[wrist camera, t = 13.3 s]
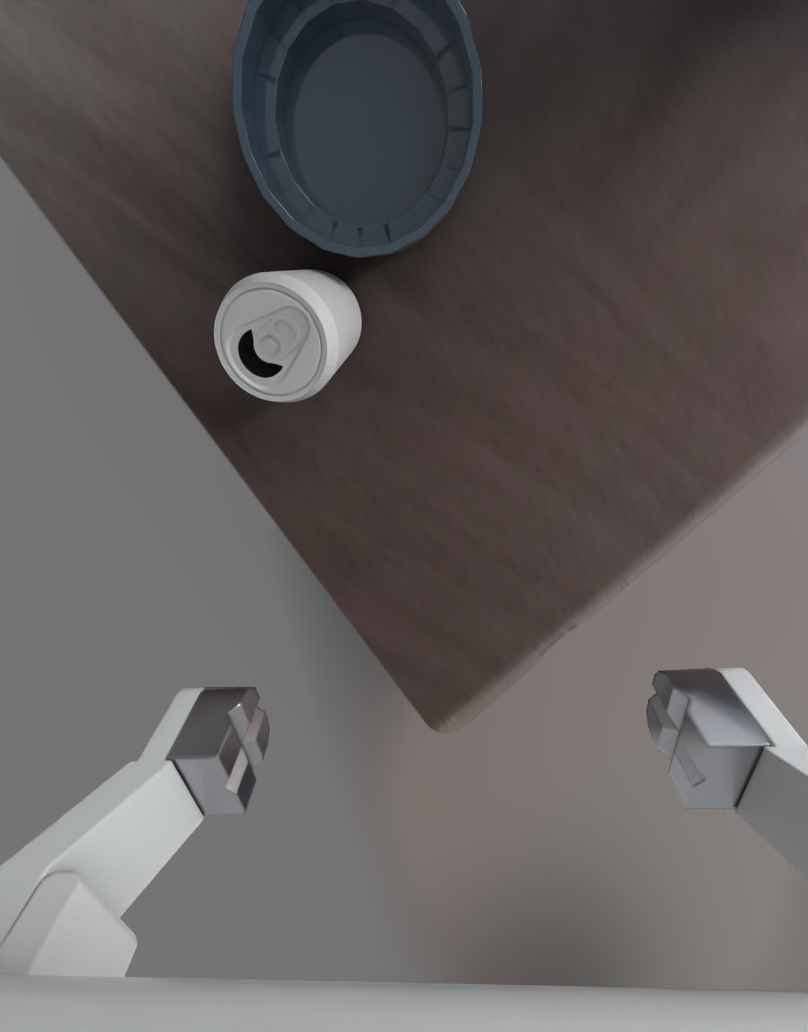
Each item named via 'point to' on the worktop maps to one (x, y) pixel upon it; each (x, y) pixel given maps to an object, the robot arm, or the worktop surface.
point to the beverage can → (286, 332)
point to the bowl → (358, 116)
